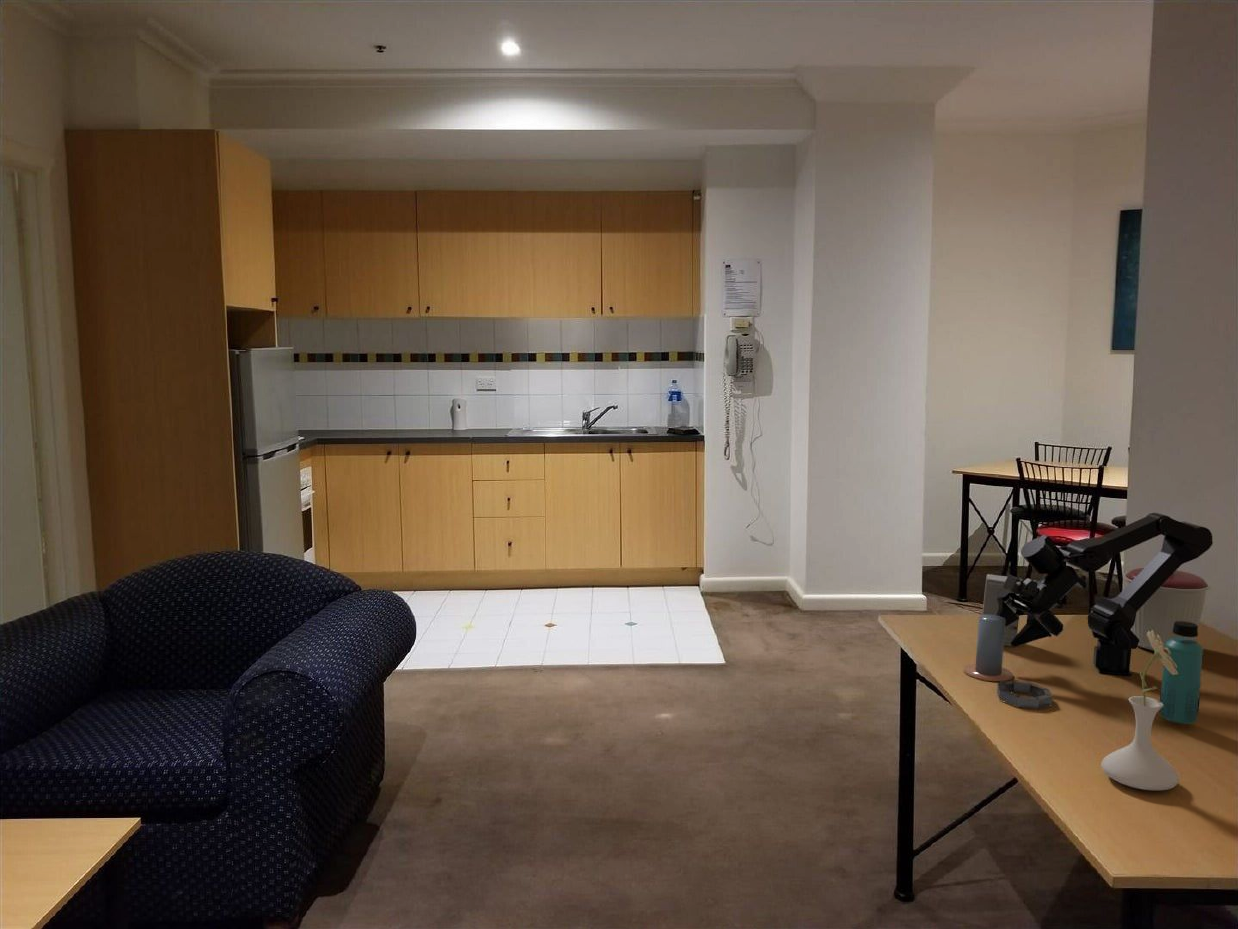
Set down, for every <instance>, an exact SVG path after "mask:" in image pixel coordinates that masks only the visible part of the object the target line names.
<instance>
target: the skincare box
mask: <svg viewBox="0 0 1238 929" xmlns="http://www.w3.org/2000/svg"><path fill="white" fill-rule="evenodd" d="M1007 577H1008V575H1007V576H1005V575H996V574H989V573H988V574H986V579H985V587H984V595H983V596H984V597H983V604H982V605H983V606H982V614H981V615H996V614H997V612H998V609H999V606H998V601H997V598H998V597H997V596H996V594H997V593H998V592H999V591H1000V590H1001V589H1006V588H1004V587H1003V585H1004V583H1005V581H1006V579H1007ZM1019 579H1020V580H1023V579H1022V578H1019ZM1007 589H1008V588H1007ZM1008 590H1009V589H1008ZM1015 594H1016V593H1015ZM1017 616H1018V615H1017ZM1018 617H1019V618H1020V616H1018ZM1019 621H1020V619H1018V620H1016V621H1015V622H1013V623H1011V624H1010V625H1008V626H1006V627H1005V635H1004V645H1005V646H1004V647H1011V646H1012V645H1011V642H1012V641H1013V639H1014V638H1015V637H1016V635H1017V634H1018V633H1019V632H1018V630H1019ZM1012 648H1014V647H1013V646H1012Z"/></svg>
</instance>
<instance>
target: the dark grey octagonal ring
mask: <svg viewBox="0 0 1238 929" xmlns="http://www.w3.org/2000/svg"><path fill="white" fill-rule="evenodd" d="M996 691H997V692H996V695H997V694H998V695H997V697H999V698H998V700H999V699H1000V700H1002V701H1005V702H1007V703H1009V704H1008V705H1010V704H1011V705H1010V706H1012V705H1015V706H1018V707H1017V708H1020V707H1025V708H1024V709H1029V708H1033V709H1032V710H1041V709H1040V708H1042V709H1045V708H1044V707H1046V708H1048V707H1047V706H1050V705H1052V706H1053V694H1052V692H1051V690H1050V689H1049V688H1047V687H1044V686H1042V685H1039V684H1036V683H1033V682H1026V681H1016V680H1009V681H1004V682H999V683H997V690H996ZM1011 692H1013V693H1011ZM1016 692H1017V693H1018V694H1017V693H1016ZM1025 693H1030V694H1029V695H1031V694H1032V695H1031V696H1026V695H1019V694H1025ZM1034 695H1035V696H1034ZM1036 696H1037V697H1036ZM1000 700H999V701H1000ZM1002 701H1001V702H1002ZM1005 702H1004V703H1005ZM1007 703H1006V704H1007ZM1015 706H1014V707H1015ZM1050 707H1051V706H1050Z"/></svg>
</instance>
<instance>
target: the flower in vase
mask: <svg viewBox="0 0 1238 929" xmlns="http://www.w3.org/2000/svg"><path fill="white" fill-rule="evenodd" d="M1147 636H1148V639H1149V641H1150V644H1151V646H1152V648H1153V649H1154V651H1153V652H1154V653H1153V655H1152V657H1151V659H1150V660H1149V661H1148V663H1147V665H1146V666H1145V668H1144V670H1143V673H1142V671H1140V672H1139V676H1140V679H1141V683H1142V684H1141V686H1142V690H1141V691H1140V693H1142V696H1140V695H1139V696H1138V695H1136V696H1135V695H1134V696H1130V697H1129V698H1128V701H1129V703H1130V704H1131V707H1132V708H1133V711H1134V716H1135V732H1134V737H1133V740H1132V741H1131V743H1130V744H1128V745H1126V746H1124V747H1122V748H1119V749H1117V750H1114V751H1113V752H1111V753H1109V754H1107V755H1106V756H1104V758H1103V759H1102V761H1101V763H1100V765H1101V769H1102V770H1103V772H1104V774H1105V775H1106V776H1108V777H1109V778H1110V779H1112V780H1114V781H1117V782H1118V783H1120V784H1122V785H1125V786H1128V787H1130V788H1133V789H1138V790H1139V789H1140V790H1144V791H1166V790H1171V789H1173V788H1174V787H1176V786H1177V785H1178V784H1179V782H1180V779H1179V774H1178V772H1177V771H1176V770H1175V769H1174V767H1173V766H1172V765H1171V764H1170V763H1169V762H1168V761H1167V760H1166V759H1165V758H1164V757H1163V756H1162V755H1160V754H1159V753H1158V752H1157V751H1156V749H1155V748H1154V747H1153V745H1152V742H1151V735H1152V734H1151V733H1152V727H1153V723H1154V719H1155V717H1156V714H1157V713H1158V712H1160V709H1161V708H1162V707H1163V703H1162V702H1160V701H1161V700H1157V699H1156V698H1152V697H1148V696H1146V692H1149V691H1153V690H1158V687H1157V686H1156V685H1153V686H1152V687H1149V688H1148V686H1147V681H1146V680H1145V678H1146V677H1145V676H1146V673H1147V672H1148V670H1149V667H1150V666H1151V665H1152V663H1153V661H1154V660H1155V658H1157V659H1159V661H1160V662H1161V663H1162V666H1165V667H1166V669H1167V670H1168V671H1169V672H1170V673H1171V674H1172V675H1175V674H1178V672H1177V670H1176V669H1175V668H1174V667H1176V668H1177V665H1176V664H1175V662H1174V661H1173V660H1172V658H1171V657H1170V656H1169V655H1170V651H1169V649H1168V648H1164V645H1163V643H1162V641H1161V638H1160V636H1159V635H1157V638H1156V635H1155V633H1154V631H1153V630H1152V631H1151V632H1150V631H1149V632H1148V633H1147Z"/></svg>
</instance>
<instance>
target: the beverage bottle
mask: <svg viewBox="0 0 1238 929" xmlns="http://www.w3.org/2000/svg"><path fill="white" fill-rule="evenodd" d="M1198 629H1199V626H1197V625H1196V624H1194V623H1191V622H1185V621H1176V622H1174V626H1173V631H1172V632H1173V633H1174V634H1176V635H1180V636H1185V637H1196V638H1197V637H1198V636H1199V632H1198ZM1165 648H1168V649H1169V651H1170V655H1169V656H1170V657H1171V658H1172V660H1173V661H1174V662H1175V664H1176V665H1177V668H1176V667H1174V668H1175V669H1176V670H1177V672H1178V674H1175V675H1172V674H1171V673H1170V672H1169V671H1168V670H1167V669H1166V667H1165V666H1164V665H1162V666H1163V667H1162V675H1161V688H1160V694H1159V695H1160V696H1159V701H1160V702H1162V703H1163V707H1162V708H1161V709H1159V714H1160V716H1161V717H1162V718H1164V719H1166V720H1168V721H1170V722H1174V723H1178V724H1179V723H1180V724H1194V723H1195V722H1197V720H1198V718H1199V711H1200V710H1199V708H1200V699H1201V697H1200V695H1201V689H1202V688H1201V687H1202V686H1201V681H1202V663H1203V652H1204V648H1203V647H1202V645H1201V644H1200V643H1199V642H1198V641H1196V640H1195V641H1194V640H1192V639H1187V638H1179V637H1176V638H1172V639H1170V640H1169V641H1167V642H1166V643H1165Z"/></svg>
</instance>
